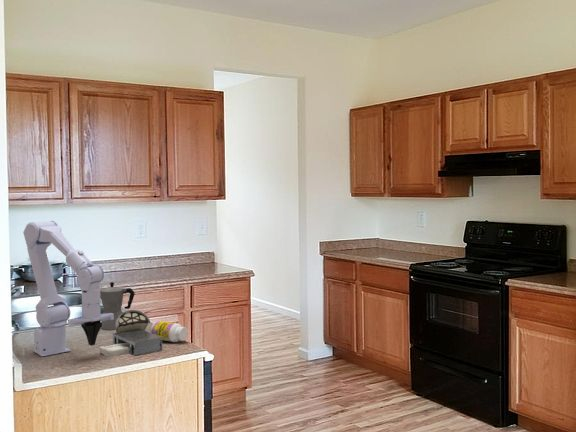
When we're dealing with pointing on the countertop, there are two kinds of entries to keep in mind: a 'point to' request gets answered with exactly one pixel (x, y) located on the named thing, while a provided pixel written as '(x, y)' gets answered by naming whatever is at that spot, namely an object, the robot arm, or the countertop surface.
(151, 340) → the shelf
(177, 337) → the supplement bottle
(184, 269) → the countertop surface
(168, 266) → the countertop surface
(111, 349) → the tray
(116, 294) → the coffeepot
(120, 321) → the food container
